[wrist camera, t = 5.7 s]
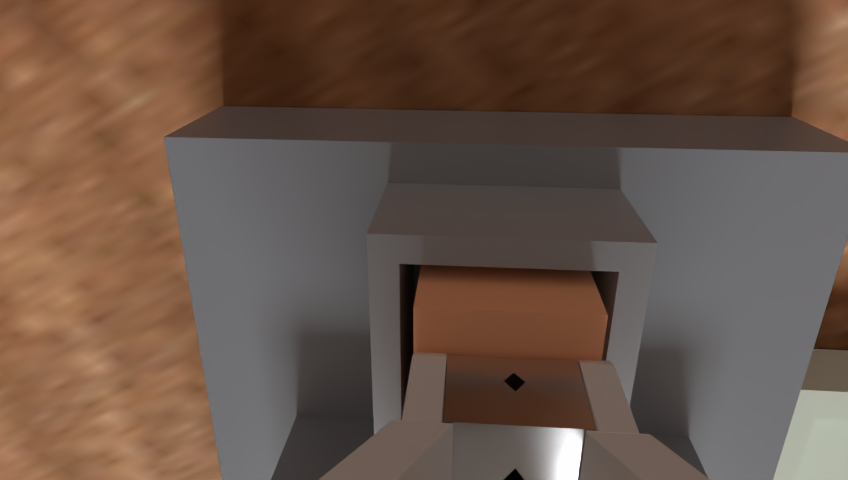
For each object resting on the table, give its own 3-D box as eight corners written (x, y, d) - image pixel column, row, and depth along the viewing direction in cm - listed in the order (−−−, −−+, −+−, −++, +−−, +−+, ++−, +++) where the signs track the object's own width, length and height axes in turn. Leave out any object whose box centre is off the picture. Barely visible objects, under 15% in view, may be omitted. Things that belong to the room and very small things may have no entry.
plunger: (426, 352, 13) (414, 455, 10) (427, 229, 12) (413, 307, 9) (561, 358, 13) (586, 465, 10) (575, 234, 11) (607, 315, 9)
